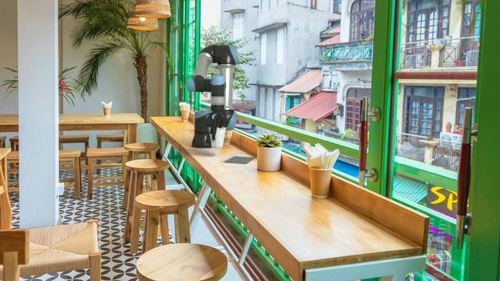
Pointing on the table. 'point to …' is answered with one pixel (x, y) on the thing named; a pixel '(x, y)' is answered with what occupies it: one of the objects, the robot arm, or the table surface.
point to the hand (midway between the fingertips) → (217, 144)
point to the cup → (219, 137)
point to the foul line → (227, 158)
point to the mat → (239, 160)
